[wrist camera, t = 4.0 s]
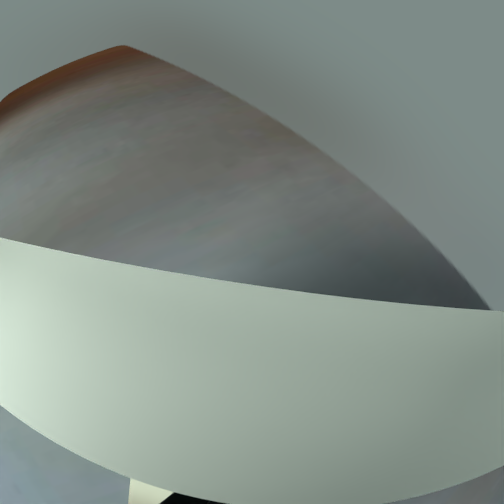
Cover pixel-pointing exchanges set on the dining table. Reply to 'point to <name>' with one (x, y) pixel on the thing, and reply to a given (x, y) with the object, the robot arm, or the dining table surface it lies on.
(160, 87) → the dining table surface
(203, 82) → the dining table surface
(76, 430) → the panel
